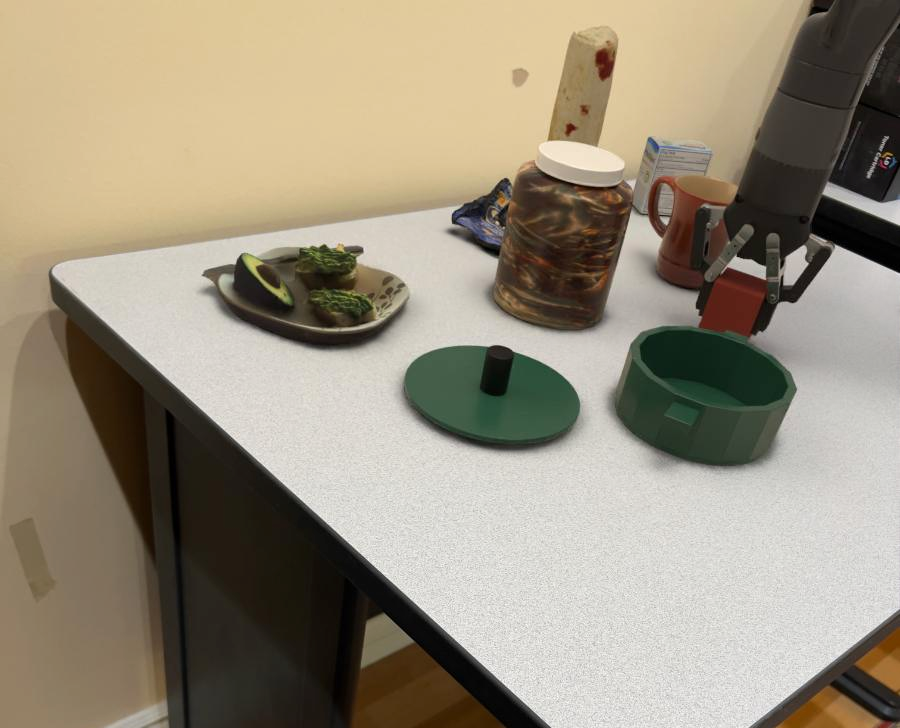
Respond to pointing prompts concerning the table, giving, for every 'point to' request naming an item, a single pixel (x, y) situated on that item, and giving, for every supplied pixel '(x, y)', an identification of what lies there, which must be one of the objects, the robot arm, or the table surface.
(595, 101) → the food model
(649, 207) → the mug
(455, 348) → the pot lid
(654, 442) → the pot
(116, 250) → the table surface
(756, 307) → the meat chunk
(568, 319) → the jar
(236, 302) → the plate of avocado toast
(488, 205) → the snack package
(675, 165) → the medicine box
